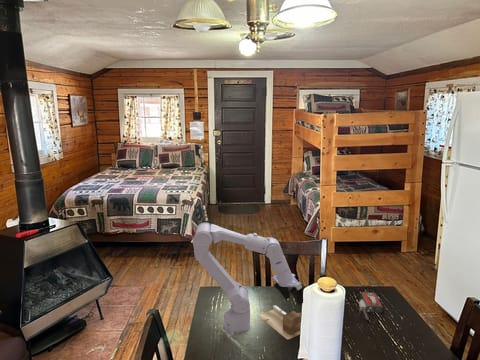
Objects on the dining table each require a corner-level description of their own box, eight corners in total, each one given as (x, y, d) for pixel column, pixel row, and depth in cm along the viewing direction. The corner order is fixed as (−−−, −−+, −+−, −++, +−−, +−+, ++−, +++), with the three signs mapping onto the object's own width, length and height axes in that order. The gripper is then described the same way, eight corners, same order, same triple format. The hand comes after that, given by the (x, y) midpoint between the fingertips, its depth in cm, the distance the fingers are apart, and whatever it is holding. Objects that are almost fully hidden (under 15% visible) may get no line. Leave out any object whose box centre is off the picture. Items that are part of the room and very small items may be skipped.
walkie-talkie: (354, 296, 158) (364, 322, 139) (355, 287, 158) (365, 312, 138) (375, 297, 157) (388, 324, 138) (375, 288, 157) (389, 314, 137)
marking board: (287, 343, 126) (287, 335, 126) (257, 318, 141) (257, 311, 140) (306, 334, 131) (306, 327, 130) (275, 311, 146) (275, 304, 145)
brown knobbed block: (286, 336, 128) (287, 321, 126) (279, 330, 131) (280, 316, 130) (303, 329, 132) (303, 314, 131) (295, 323, 135) (296, 309, 134)
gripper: (302, 267, 126) (315, 299, 128) (277, 260, 138) (289, 289, 141) (288, 278, 122) (301, 311, 125) (264, 270, 135) (276, 300, 137)
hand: (294, 300), depth 133 cm, fingers open, 7 cm apart
